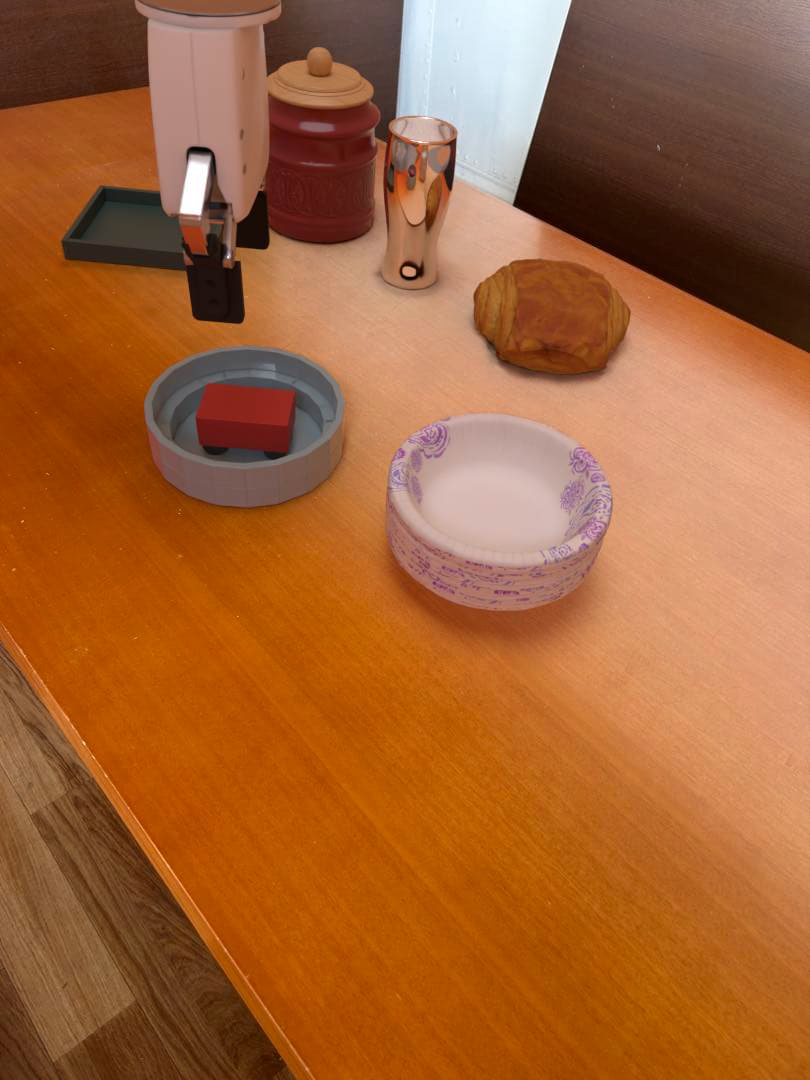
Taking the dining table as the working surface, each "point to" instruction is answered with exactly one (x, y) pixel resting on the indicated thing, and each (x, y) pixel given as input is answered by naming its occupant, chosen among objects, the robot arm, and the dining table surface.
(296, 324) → the dining table surface
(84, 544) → the dining table surface
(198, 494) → the bowl
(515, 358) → the croissant
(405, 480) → the paper bowls
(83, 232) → the tray
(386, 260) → the beer glass
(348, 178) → the kitchen canister
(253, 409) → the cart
